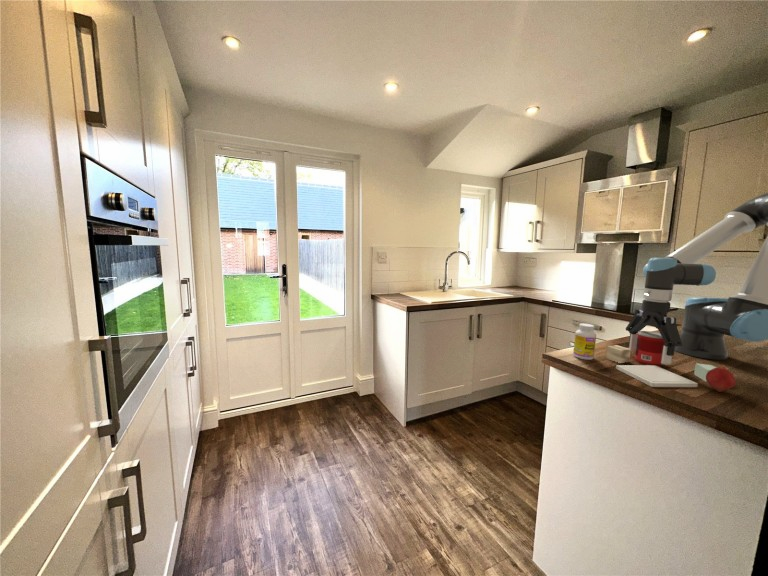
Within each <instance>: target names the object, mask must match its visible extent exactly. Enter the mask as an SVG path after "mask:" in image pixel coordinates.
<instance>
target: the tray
mask: <svg viewBox="0 0 768 576" xmlns="http://www.w3.org/2000/svg"><path fill="white" fill-rule="evenodd" d="M615 369H616V370H618V371H620V372H622V373H623V374H626V375H627V376H630V377H632V378H634V379H635V380H638V381H639V382H640V383H643V384H646V385H647V386H649V387H652V388H698V385H699V383H698V382H696V381H693V380H691V379H688V378H686V377H684V376H682V375H679V374H677V373H674V372H671V371H669V370H668V369H665V368H662V367H660V366H656V365H646V364H642V365H641V364H640V365H639V364H635V365H633V364H632V365H629V364H627V365H626V364H625V365H624V364H620V365H619V364H616V366H615Z"/></svg>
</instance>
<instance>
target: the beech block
mask: <svg viewBox="0 0 768 576" xmlns="http://www.w3.org/2000/svg"><path fill="white" fill-rule="evenodd" d="M631 352H632V351H631V349H629V347H625V346H620V345H618V344H615V345H607V346H606V354H605V359H607V360H609V361H612V362H614V361H615V363H617V362H618V363H617V364H624V363H625V362H626V363H630V360H631Z"/></svg>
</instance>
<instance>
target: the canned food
mask: <svg viewBox="0 0 768 576" xmlns="http://www.w3.org/2000/svg"><path fill="white" fill-rule="evenodd" d="M664 345H666V343H665V341H664V340H663V338H662V336H661V334H660V332H655V331H649V330H641V331H639V332H638V335H637V342H636V351H634V352H635V353H634V360H635V361H636V362H637V363H640V364H642V365H656V366H658V367H660V366H662V365H663V364H662V363H661V360H662V354H663V347H664Z"/></svg>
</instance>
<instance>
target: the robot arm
mask: <svg viewBox="0 0 768 576" xmlns="http://www.w3.org/2000/svg"><path fill="white" fill-rule="evenodd" d="M763 226H767V227H768V192H765V193H762V194H760V195H758V196H755V197H753V198H750V200H748V201H746V202H744V203H742V204H740V205H739V206H737V207H735V208H733V209H732V210H731V211H730V212H727V213H726V214H725V215H724V216H723V219H722V220H721V221H719V222H717V223H715V224H714V225H713V226H711V227H709V228H708V229H706V230H705V231H704V232H702V233H701V234H698V235H697V236H696V237H694V238H693V239H691V240H690V241H688V242H687V243H685V244H683V245H682V246H681V247H679V248H677V249H675V250H674V251H673V252H671V253H669V254H668V255H667V256H665V257H651V258H649V259H648V262H647V263H646V264H645V265H644V267H643V269H642V274H643V276H644V278H645V281H644V282H645V283H644V288H643V289H644V290H643V300H642V302H641V303H642V304H641V309H635V310H634V315H633V316H632V317H631V319H630V321H629V323H627V326H626V327H625V331H627V332H628V333H629V338H628V339H629V340H628V341H629V346H628V349H631V352H633V351H634V352H635V351H636V342H637V335H638V332H639V331H643V329H644V328H645V327H647V326H652V327H655V329H657V330H658V333H660V334H661V336H662V338H663V340H664V341H665V343H666V345H664V347H663V354H662V360H661V363H662V365H671V364H672V357H673V356H674V354H675V351H676V352H678V353H680V354H684V355H687V356H692V357H697V358H702V359H707V360H715V361H716V360H718V361H719V360H720V361H721V360H722V361H723V360H727V359H728V355H729V352H728V350H727V346H726V342H725V338H724V337H725V336H729V337H733V338H735V339H739V340H742V341H743V340H744V341H749V342H756V343H757V342H758V343H759V342H764V341H766V340H768V235H767V236H766V237H765V239H764V242H763V244H762V245H761V247H760V249H759V252H758V253H757V255H756V256H755V259H754V261H753V263H752V265H751V267H750V269H749V271H748V273H747V274H746V277H745V279H744V281H743V283H742V285H741V286H740V288H739V290H738V292H737V293H735V294H733V295H730V296H728V298H727V297H726V298H725V297H697V296H694V297H689V298H687V299H686V302H685V305H684V311H683V319H682V327H681V328H682V329H681V332H679V330H678V326H677V318H676V317H671V316H670V317H668V316H667V314H668V313H669V312H670V310H671V303H670V302H671V301H672V297H673V290H674V285H675V286H676V285H677V286H678V285H680V286H681V285H682V286H697V287H699V286H708V285H711V284H712V283H713V282H714V281H715V280H716V276H717V270H716V269H715V268H714V266H712V265H710V264H703V263H697V262H699V261H700V260H702V259H704V258H705V257H706V256H709V255H710V254H711V253H713V252H715V251H717V250H718V249H719V248H721V247H723V246H725V245H726V244H728V243H729V242H731V241H732V240H734V239H735V238H737V237H739V236H740V235H741V234H744V233H751V232H752V231H754V230H755V229H757V228H760V227H763Z"/></svg>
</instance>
